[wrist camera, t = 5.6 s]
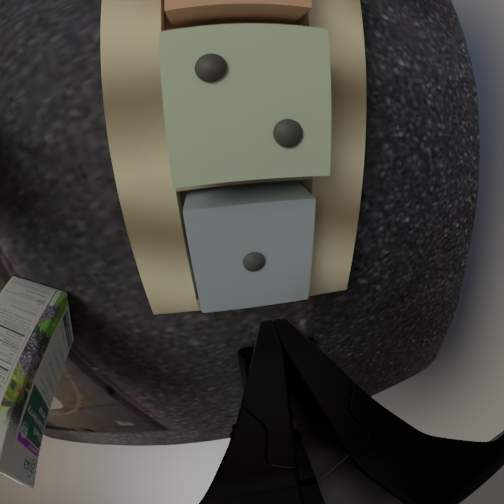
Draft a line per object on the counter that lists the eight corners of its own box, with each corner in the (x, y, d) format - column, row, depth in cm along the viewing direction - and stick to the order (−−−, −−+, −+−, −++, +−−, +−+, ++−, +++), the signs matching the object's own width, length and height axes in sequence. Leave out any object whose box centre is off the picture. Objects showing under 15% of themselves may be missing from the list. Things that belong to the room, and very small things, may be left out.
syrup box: (76, 339, 19) (39, 493, 7) (23, 322, 17) (-27, 456, 5) (68, 290, 16) (2, 475, 4) (11, 272, 15) (-70, 422, 2)
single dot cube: (293, 267, 17) (308, 300, 14) (202, 278, 16) (202, 314, 14) (295, 179, 14) (316, 199, 11) (187, 189, 13) (182, 212, 11)
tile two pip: (304, 158, 12) (330, 176, 9) (181, 168, 11) (173, 189, 9) (301, 43, 9) (329, 28, 6) (171, 49, 9) (158, 31, 6)
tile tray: (332, 268, 18) (346, 289, 16) (158, 289, 17) (153, 314, 15) (330, -48, 7) (347, -63, 5) (121, -42, 6) (110, -58, 4)
